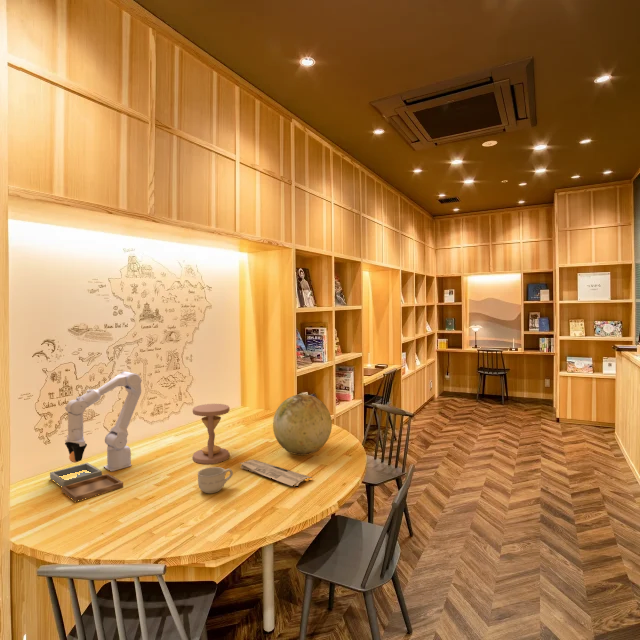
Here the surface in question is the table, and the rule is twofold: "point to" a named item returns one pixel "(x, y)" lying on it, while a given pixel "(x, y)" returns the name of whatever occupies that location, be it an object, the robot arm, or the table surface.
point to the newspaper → (274, 472)
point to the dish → (81, 477)
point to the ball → (72, 457)
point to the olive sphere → (302, 424)
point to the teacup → (212, 479)
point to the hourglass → (211, 433)
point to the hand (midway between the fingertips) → (76, 459)
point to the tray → (92, 487)
